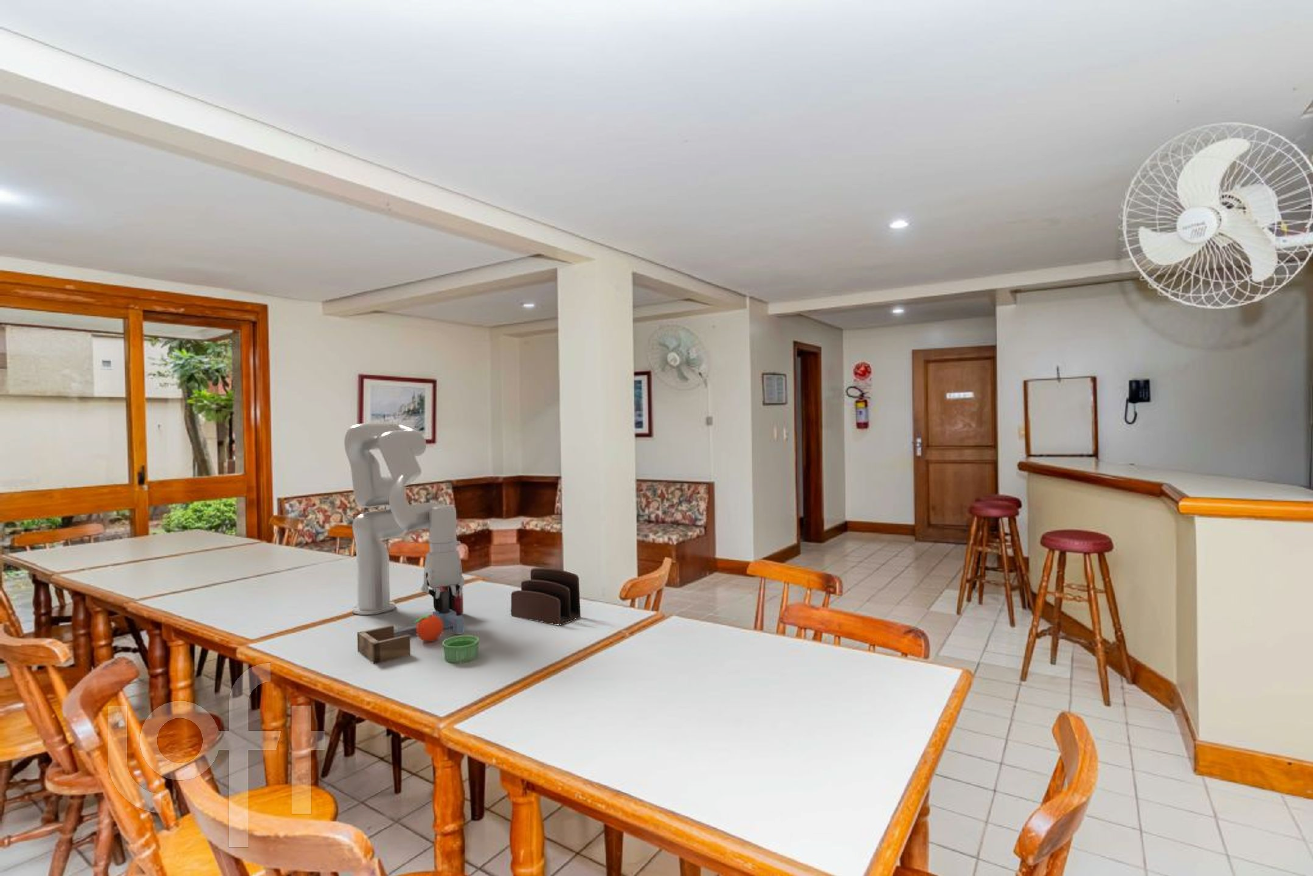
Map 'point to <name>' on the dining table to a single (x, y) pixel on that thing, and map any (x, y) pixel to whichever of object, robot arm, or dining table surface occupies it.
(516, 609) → the letter holder
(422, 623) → the clementine
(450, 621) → the kicker
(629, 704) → the dining table surface
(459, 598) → the soda can
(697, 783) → the dining table surface
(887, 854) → the dining table surface
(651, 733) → the dining table surface
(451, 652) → the ramekin
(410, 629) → the rail
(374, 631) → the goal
